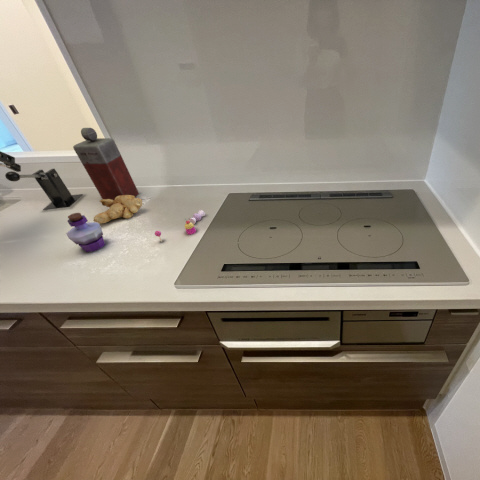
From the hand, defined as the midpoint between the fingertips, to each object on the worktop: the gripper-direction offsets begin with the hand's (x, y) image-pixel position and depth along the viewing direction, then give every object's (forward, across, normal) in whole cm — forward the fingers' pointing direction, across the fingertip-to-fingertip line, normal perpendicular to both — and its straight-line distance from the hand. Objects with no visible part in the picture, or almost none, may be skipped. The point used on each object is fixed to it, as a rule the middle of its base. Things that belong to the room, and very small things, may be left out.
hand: (3, 170), depth 83 cm
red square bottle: (+24, -20, +5) cm, 32 cm away
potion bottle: (0, -24, +29) cm, 38 cm away
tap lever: (+10, 0, -1) cm, 10 cm away
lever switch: (+24, 0, +4) cm, 25 cm away
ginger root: (+14, -26, +14) cm, 33 cm away
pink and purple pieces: (+2, -51, +27) cm, 58 cm away
